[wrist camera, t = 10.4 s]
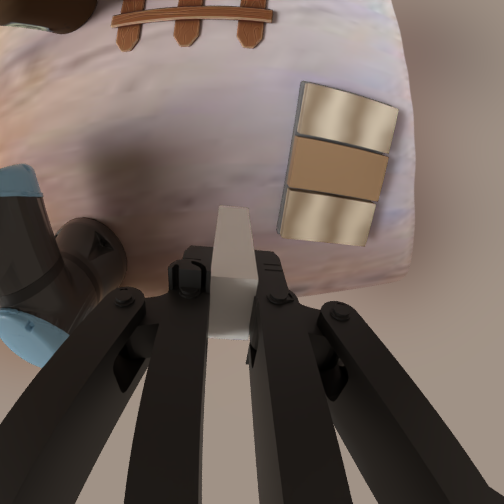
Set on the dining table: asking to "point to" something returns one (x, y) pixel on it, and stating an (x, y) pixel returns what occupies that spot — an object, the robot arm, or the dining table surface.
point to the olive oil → (46, 14)
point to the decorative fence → (191, 20)
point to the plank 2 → (326, 217)
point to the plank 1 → (346, 118)
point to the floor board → (332, 165)
